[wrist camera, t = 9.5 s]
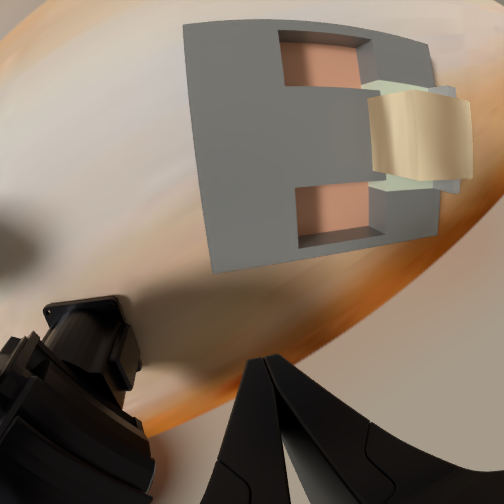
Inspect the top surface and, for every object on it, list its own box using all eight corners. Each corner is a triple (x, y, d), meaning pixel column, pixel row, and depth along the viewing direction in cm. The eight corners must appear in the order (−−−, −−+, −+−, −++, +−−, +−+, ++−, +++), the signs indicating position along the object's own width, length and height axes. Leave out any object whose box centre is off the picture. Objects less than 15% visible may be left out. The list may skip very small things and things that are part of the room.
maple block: (372, 170, 16) (420, 180, 12) (367, 98, 15) (414, 89, 10) (425, 168, 17) (472, 179, 13) (421, 104, 15) (469, 101, 11)
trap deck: (211, 258, 19) (214, 290, 15) (184, 40, 14) (180, 9, 10) (417, 225, 21) (455, 243, 17) (407, 50, 16) (446, 39, 12)
